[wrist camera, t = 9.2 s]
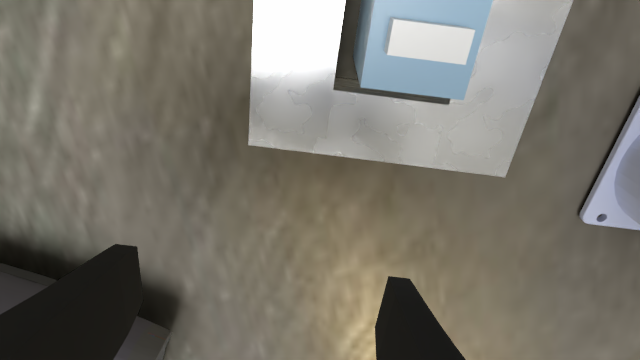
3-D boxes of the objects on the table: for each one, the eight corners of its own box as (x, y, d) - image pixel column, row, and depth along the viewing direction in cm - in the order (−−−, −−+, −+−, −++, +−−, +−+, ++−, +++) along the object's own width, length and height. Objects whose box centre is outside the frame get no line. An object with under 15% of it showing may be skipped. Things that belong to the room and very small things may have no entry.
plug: (445, -18, 17) (508, -16, 11) (426, 65, 18) (471, 107, 12) (365, -28, 17) (383, -33, 11) (352, 55, 18) (362, 93, 12)
